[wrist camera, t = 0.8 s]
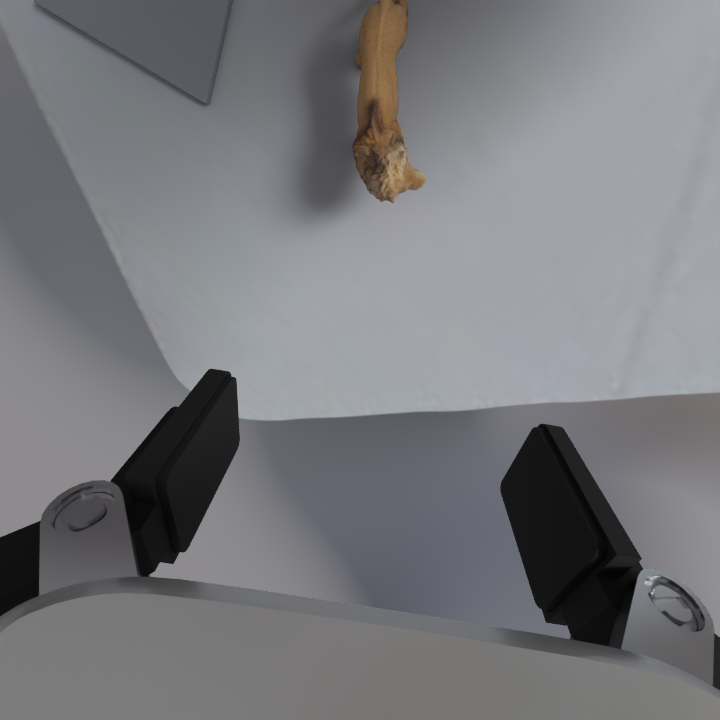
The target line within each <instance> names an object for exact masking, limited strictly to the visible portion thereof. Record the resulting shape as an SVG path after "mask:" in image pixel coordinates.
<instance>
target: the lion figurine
mask: <svg viewBox="0 0 720 720" xmlns="http://www.w3.org/2000/svg"><path fill="white" fill-rule="evenodd" d="M406 5H407V1H406V0H395V2H394V3H393V0H380V1H379V2H378V3H375V4H373V5H372V6H371V7H370V8H369V9H368V10H367V12H366V14H365V15H364V17H363V20H362V23H361V27H360V33H359V44H360V49H359V51H358V53H357V55H356V60H355V61H356V65H357V66H358V68H360V69H362V70H361V77H360V85H359V94H358V106H357V107H358V124H359V129H358V131H357V138H356V139H355V142H354V144H353V155H354V158H355V161H356V168H357V170H358V171H359V173H360V177H361V179H363V182H364V183H365V184H366V187H367V190H368V191H369V193H370V194H373V195H374V196H375V197H376V198H377V199H379V200H380V201H381V202H382V201H384V200H389V201H390V202H392V203H393V202H394V201H395V199H396V198H397V196H398V194H399V193H402V192H405V191H406V190H407V189H410V190H417V189H419V188H420V187H422V186H423V185H424V183H425V181H426V179H425V176H424V175H423V174H422V172H421V171H420V170H417V169H413V167H412V165H411V164H410V163H409V162H408V159H407V148H405V147H404V141H403V136H402V134H401V128H400V126H399V124H398V122H397V121H396V118H397V112H398V85H397V74H396V67H395V58H396V54H397V53H398V51H399V50H400V48H401V47H402V46H403V44H404V42H405V37H406V34H407V29H408V23H407V6H406Z"/></svg>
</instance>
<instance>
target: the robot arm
mask: <svg viewBox="0 0 720 720" xmlns="http://www.w3.org/2000/svg"><path fill="white" fill-rule="evenodd" d="M239 441H240V435H239V418H238V400H237V383H236V378H235V377H231V374H230V372H228V371H222V370H216V369H209V370H208V371H207V372H206V373H205V375H204V376H203V377H202V378H201V380H200V381H199V382H198V383H197V385H196V386H195V387H194V388H193V390H192V391H191V392H190V393H189V395H188V396H187V397H186V398H185V400H184V401H183V402H182V404H181V405H180V406H179V407H173V408H171V409H170V410H169V411H168V412H167V413H166V414H165V416H164V417H163V418H162V419H161V420H160V422H159V423H158V424H157V425H156V426H155V428H154V429H153V430H152V431H151V432H150V434H149V435H148V436H147V437H146V439H145V440H144V441H143V442H142V443H141V445H140V446H139V447H138V448H137V449H136V451H135V452H134V453H133V454H132V455H131V457H130V458H129V459H128V460H127V461H126V463H125V464H124V465H123V466H122V467H121V469H120V470H119V471H118V472H117V474H116V475H115V476H114V478H112V480H111V481H110V482H109V481H105V480H100V481H90V482H86V483H81V484H79V485H77V486H75V487H72V488H70V489H68V490H66V491H65V492H63V493H62V494H60V495H59V496H57V497H56V498H55V499H54V500H53V501H52V502H51V503H50V504H49V505H48V507H47V508H46V509H45V511H44V513H43V514H42V518H41V521H39V522H37V523H34V524H32V525H29V526H27V527H24V528H22V529H20V530H17V531H15V532H12V533H10V534H8V535H5V536H3V537H0V720H720V637H718V636H717V635H716V634H715V633H714V626H713V620H712V618H711V616H710V614H709V612H708V611H707V609H706V607H705V606H704V605H703V603H702V602H701V601H700V599H699V598H698V597H697V596H696V595H695V594H694V593H693V592H692V591H691V590H690V589H689V588H688V587H687V586H686V585H684V584H683V583H682V582H681V581H679V580H678V579H677V578H675V577H673V576H671V575H670V574H668V573H666V572H663V571H661V570H658V569H652V568H647V569H644V570H643V568H642V566H641V565H640V563H639V561H640V560H641V559H642V558H641V557H640V555H639V553H638V552H637V550H636V548H635V547H634V545H633V543H632V542H631V540H630V538H629V537H628V535H627V533H626V532H625V530H624V528H623V527H622V525H621V524H620V522H619V520H618V518H617V517H616V515H615V514H614V512H613V510H612V509H611V507H610V505H609V503H608V502H607V500H606V498H605V497H604V495H603V493H602V492H601V490H600V489H599V487H598V485H597V484H596V482H595V480H594V478H593V477H592V475H591V473H590V472H589V470H588V469H587V467H586V466H585V463H584V462H583V460H582V458H581V457H580V455H579V454H578V452H577V450H576V448H575V447H574V445H573V443H572V442H571V440H570V438H569V437H568V435H567V434H566V432H565V430H564V429H563V428H562V427H559V426H552V425H547V424H540V425H539V426H538V427H535V428H533V429H532V430H531V432H530V434H529V435H528V437H527V439H526V440H525V442H524V444H523V446H522V447H521V449H520V451H519V452H518V454H517V456H516V458H515V459H514V461H513V463H512V465H511V466H510V468H509V470H508V472H507V473H506V475H505V477H504V478H503V480H502V482H501V495H502V498H503V501H504V504H505V507H506V510H507V514H508V517H509V520H510V523H511V527H512V530H513V533H514V536H515V539H516V543H517V546H518V549H519V552H520V555H521V559H522V562H523V565H524V568H525V571H526V575H527V578H528V580H529V584H530V587H531V591H532V594H533V597H534V600H535V603H536V604H537V606H538V607H539V608H540V609H542V611H543V614H544V617H545V621H546V622H547V623H552V624H560V625H567V626H568V629H569V631H570V634H571V636H570V639H565V638H559V637H553V636H548V635H542V634H536V633H530V632H524V631H518V630H512V629H505V628H499V627H493V626H487V625H481V624H474V623H468V622H462V621H456V620H449V619H443V618H437V617H430V616H424V615H418V614H411V613H405V612H399V611H392V610H386V609H379V608H373V607H366V606H360V605H353V604H347V603H340V602H334V601H327V600H321V599H314V598H307V597H301V596H295V595H288V594H281V593H275V592H268V591H261V590H255V589H248V588H241V587H234V586H225V585H219V584H211V583H203V582H196V581H188V580H181V579H168V578H156V577H151V576H150V574H151V573H153V572H154V571H155V570H156V568H157V566H158V564H159V563H160V562H164V563H170V564H173V563H174V562H175V560H176V558H177V556H178V554H179V552H185V551H186V550H187V549H188V547H189V545H190V543H191V541H192V539H193V537H194V535H195V533H196V531H197V529H198V527H199V525H200V523H201V521H202V519H203V517H204V515H205V513H206V511H207V509H208V507H209V505H210V503H211V501H212V499H213V497H214V495H215V493H216V491H217V489H218V487H219V485H220V483H221V481H222V479H223V477H224V475H225V473H226V471H227V469H228V467H229V465H230V463H231V461H232V459H233V457H234V455H235V453H236V451H237V449H238V446H239Z"/></svg>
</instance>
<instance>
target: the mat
mask: <svg viewBox="0 0 720 720" xmlns="http://www.w3.org/2000/svg"><path fill="white" fill-rule="evenodd" d="M34 2H35V3H37V4H38V5H40V6H42V7H43V8H45V9H47V10H48V11H50V12H52V13H53V14H55V15H57V16H58V17H60V18H62V19H63V20H65V21H67V22H69V23H70V24H72V25H74V26H75V27H77V28H79V29H80V30H82V31H84V32H85V33H87V34H89V35H90V36H92V37H94V38H95V39H97V40H99V41H101V42H102V43H104V44H106V45H107V46H109V47H111V48H112V49H114V50H116V51H117V52H119V53H121V54H122V55H124V56H126V57H127V58H129V59H131V60H133V61H134V62H136V63H138V64H139V65H141V66H143V67H144V68H146V69H148V70H149V71H151V72H153V73H154V74H156V75H158V76H159V77H161V78H163V79H165V80H166V81H168V82H170V83H171V84H173V85H175V86H176V87H178V88H180V89H181V90H183V91H185V92H186V93H188V94H190V95H191V96H193V97H195V98H197V99H198V100H200V101H202V102H203V103H205V104H208V105H209V103H210V98H211V94H212V89H213V85H214V80H215V76H216V72H217V67H218V63H219V58H220V54H221V49H222V45H223V40H224V36H225V32H226V27H227V23H228V18H229V14H230V9H231V5H232V0H34Z"/></svg>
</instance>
